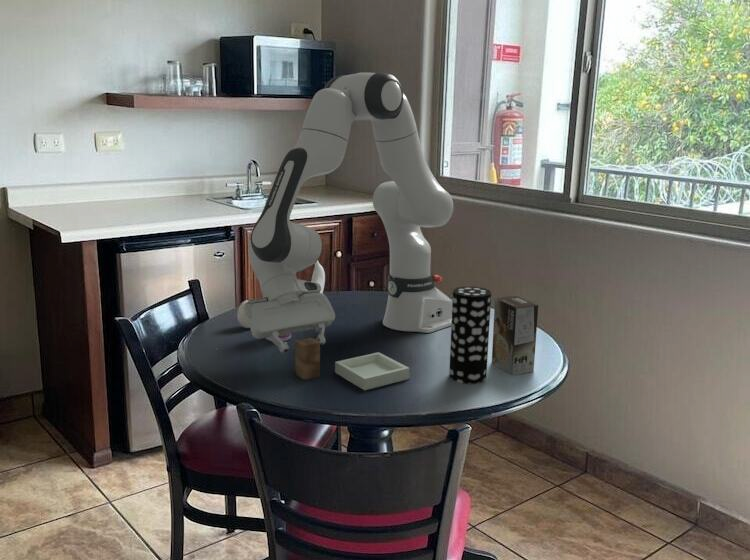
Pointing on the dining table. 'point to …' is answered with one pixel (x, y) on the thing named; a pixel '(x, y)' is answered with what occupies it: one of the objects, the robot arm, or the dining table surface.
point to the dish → (372, 370)
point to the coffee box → (514, 334)
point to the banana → (319, 275)
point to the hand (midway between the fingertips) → (303, 347)
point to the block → (307, 358)
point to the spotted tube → (469, 334)
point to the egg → (243, 316)
